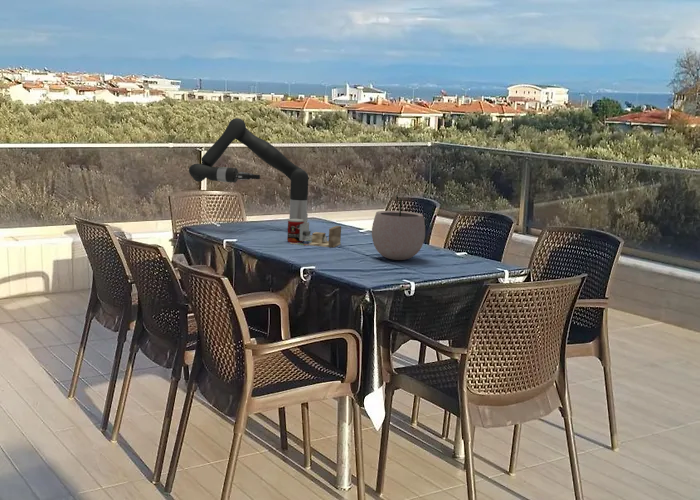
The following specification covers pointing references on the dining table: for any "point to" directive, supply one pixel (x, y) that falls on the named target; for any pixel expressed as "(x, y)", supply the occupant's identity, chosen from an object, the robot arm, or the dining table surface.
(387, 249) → the plant pot
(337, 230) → the wooden stand
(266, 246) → the dining table surface
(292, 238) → the canned food
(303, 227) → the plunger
